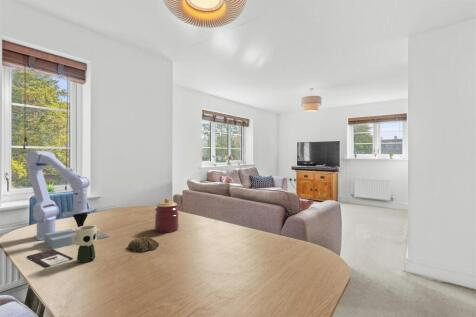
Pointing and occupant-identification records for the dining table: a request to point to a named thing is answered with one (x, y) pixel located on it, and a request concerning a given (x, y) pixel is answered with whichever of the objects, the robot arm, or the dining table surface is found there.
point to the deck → (59, 238)
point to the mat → (102, 236)
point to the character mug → (85, 242)
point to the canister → (166, 216)
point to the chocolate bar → (49, 258)
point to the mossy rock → (143, 244)
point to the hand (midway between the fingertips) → (80, 228)
